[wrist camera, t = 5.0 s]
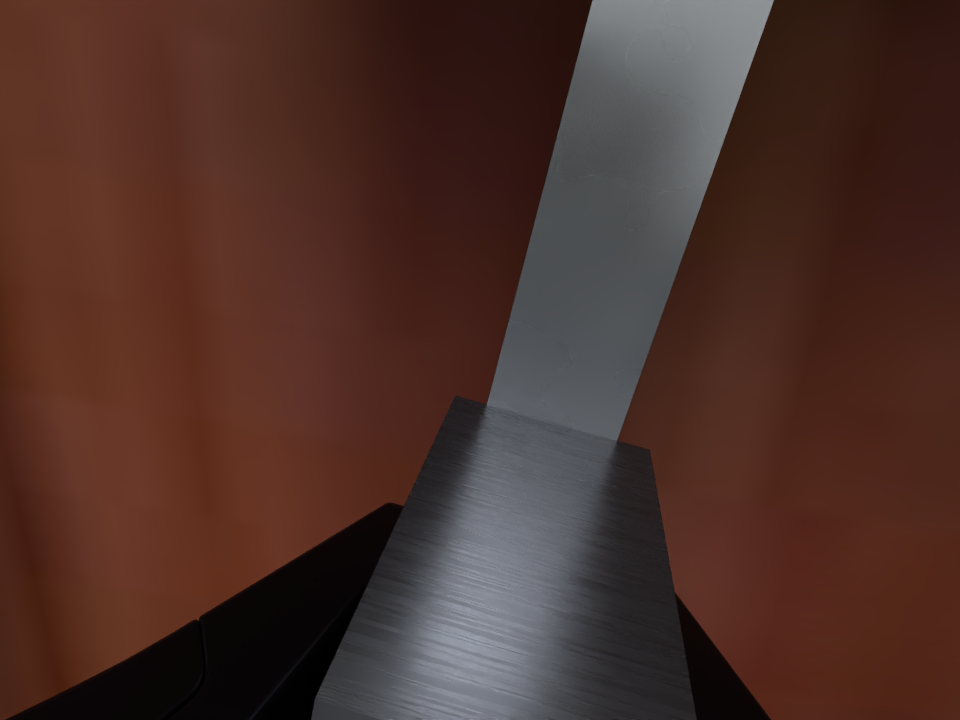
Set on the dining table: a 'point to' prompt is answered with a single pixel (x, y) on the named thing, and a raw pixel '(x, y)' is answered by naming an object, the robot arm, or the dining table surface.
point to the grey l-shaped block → (563, 419)
